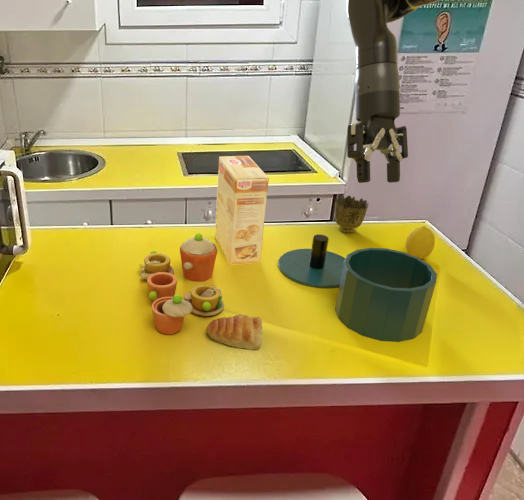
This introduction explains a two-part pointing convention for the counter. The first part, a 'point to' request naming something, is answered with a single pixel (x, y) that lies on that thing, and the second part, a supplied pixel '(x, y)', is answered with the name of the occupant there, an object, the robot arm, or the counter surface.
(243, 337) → the pastry
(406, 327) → the pot
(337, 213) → the cup
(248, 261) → the coffeecake box
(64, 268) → the counter surface
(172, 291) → the toy tea set
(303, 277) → the lid
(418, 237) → the lemon
